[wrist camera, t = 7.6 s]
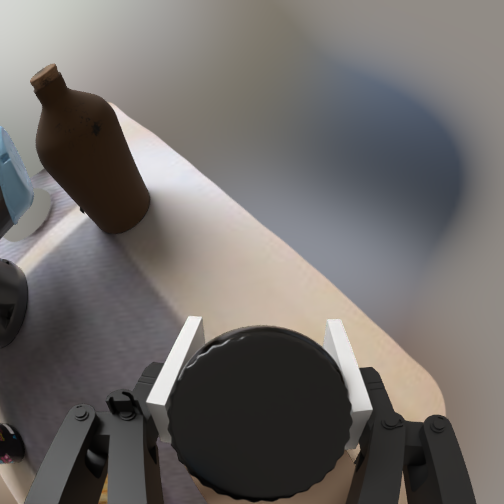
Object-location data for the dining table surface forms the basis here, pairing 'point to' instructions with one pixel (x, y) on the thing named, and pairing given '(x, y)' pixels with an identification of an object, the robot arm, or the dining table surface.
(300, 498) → the brown cloth napkin
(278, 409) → the supplement bottle
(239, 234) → the dining table surface
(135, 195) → the olive oil
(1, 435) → the supplement container
